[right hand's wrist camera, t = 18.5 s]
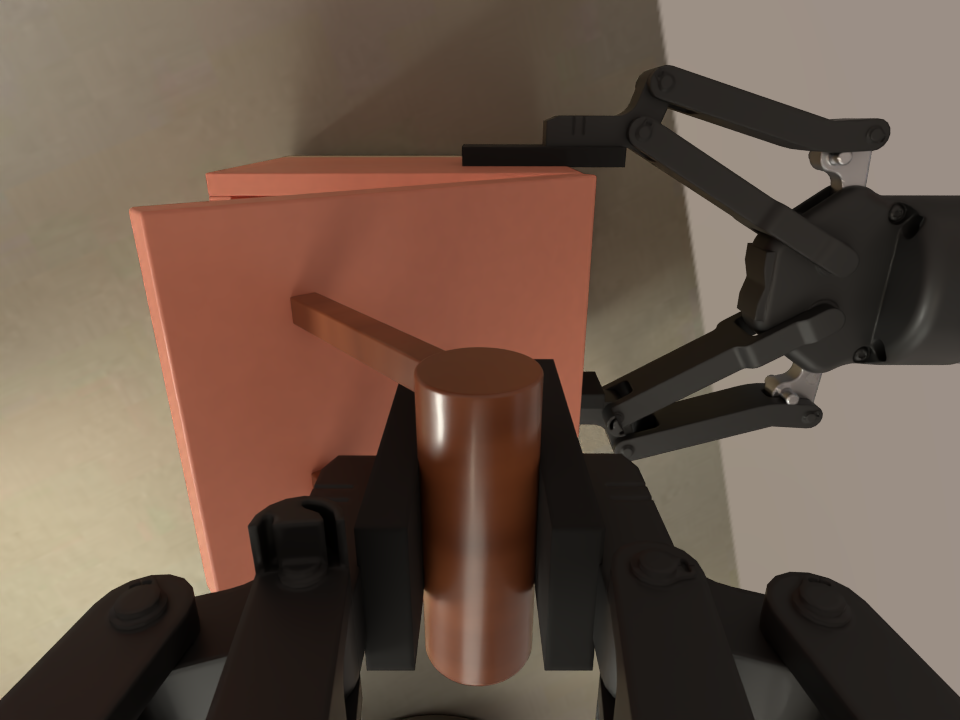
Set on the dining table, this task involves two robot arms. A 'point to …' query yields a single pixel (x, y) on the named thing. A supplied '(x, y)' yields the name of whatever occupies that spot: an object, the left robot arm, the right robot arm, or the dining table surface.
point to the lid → (379, 370)
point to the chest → (354, 174)
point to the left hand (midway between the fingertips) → (463, 280)
